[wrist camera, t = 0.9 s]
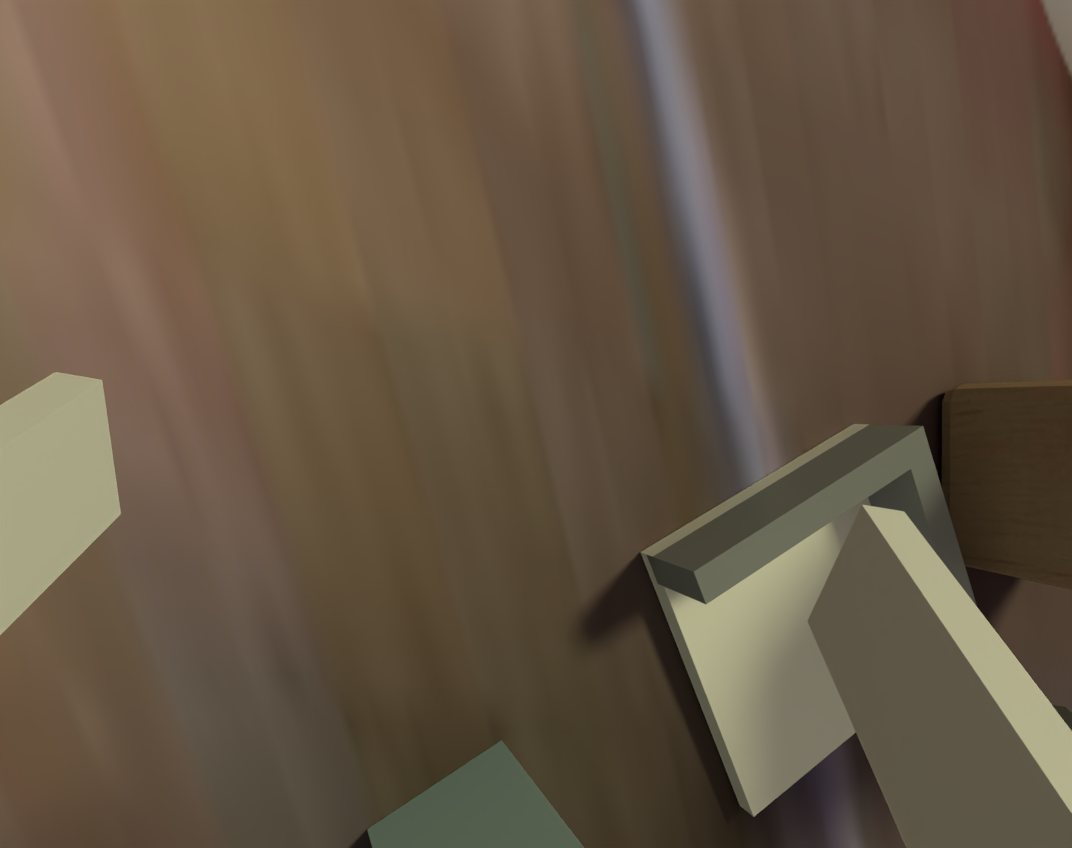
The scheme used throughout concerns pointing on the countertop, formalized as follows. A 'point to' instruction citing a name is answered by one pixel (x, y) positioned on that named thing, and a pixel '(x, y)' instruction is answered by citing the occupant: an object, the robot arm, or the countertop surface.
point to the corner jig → (785, 597)
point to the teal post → (477, 811)
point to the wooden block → (1011, 477)
